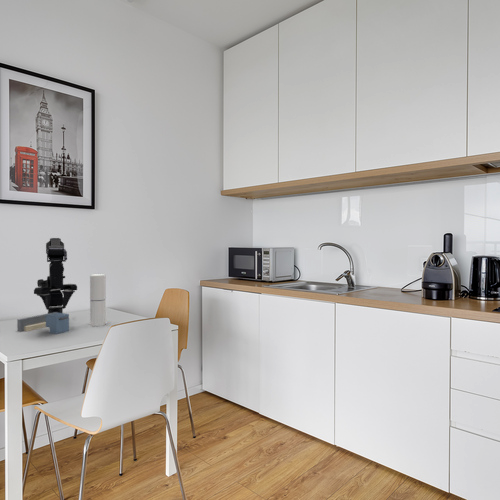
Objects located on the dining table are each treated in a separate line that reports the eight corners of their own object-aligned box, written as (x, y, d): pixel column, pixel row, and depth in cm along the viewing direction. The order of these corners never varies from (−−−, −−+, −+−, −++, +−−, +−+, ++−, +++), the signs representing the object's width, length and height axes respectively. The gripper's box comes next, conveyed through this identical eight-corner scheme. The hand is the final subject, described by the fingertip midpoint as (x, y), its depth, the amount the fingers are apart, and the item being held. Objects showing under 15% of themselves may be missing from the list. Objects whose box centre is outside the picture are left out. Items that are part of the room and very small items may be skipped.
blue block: (58, 329, 185) (58, 312, 185) (70, 331, 182) (70, 314, 182) (45, 332, 180) (45, 314, 179) (58, 334, 176) (57, 316, 176)
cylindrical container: (91, 326, 191) (91, 275, 190) (88, 324, 197) (88, 274, 196) (107, 325, 195) (106, 275, 194) (103, 322, 201) (103, 274, 200)
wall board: (55, 322, 199) (55, 312, 199) (60, 323, 197) (60, 312, 197) (17, 331, 181) (17, 319, 181) (22, 332, 179) (22, 320, 179)
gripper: (61, 271, 192) (62, 303, 192) (25, 274, 175) (25, 309, 175) (77, 272, 187) (78, 305, 187) (42, 275, 170) (42, 311, 171)
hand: (56, 307), depth 180 cm, fingers open, 9 cm apart
